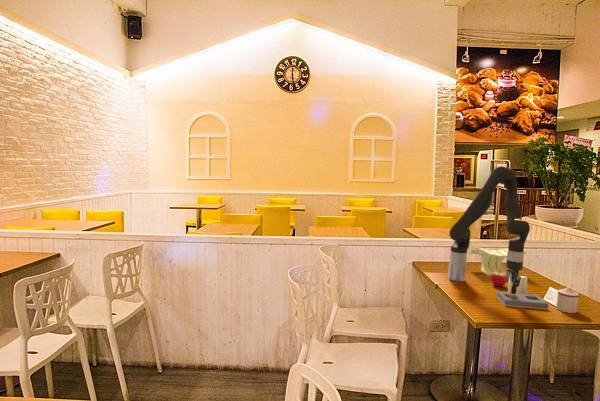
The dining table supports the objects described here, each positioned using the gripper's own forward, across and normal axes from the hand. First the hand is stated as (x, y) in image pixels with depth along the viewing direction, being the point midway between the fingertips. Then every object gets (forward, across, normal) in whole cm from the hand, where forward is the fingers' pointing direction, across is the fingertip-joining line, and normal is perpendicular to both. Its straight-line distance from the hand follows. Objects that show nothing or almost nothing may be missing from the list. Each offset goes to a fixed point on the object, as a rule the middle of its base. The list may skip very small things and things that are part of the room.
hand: (512, 292), depth 214 cm
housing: (+5, 0, +5) cm, 7 cm away
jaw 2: (+5, -14, +10) cm, 18 cm away
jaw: (+3, 0, 0) cm, 3 cm away
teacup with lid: (+6, +4, +24) cm, 25 cm away
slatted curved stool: (+5, -58, +8) cm, 59 cm away
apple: (+5, -28, +2) cm, 29 cm away
